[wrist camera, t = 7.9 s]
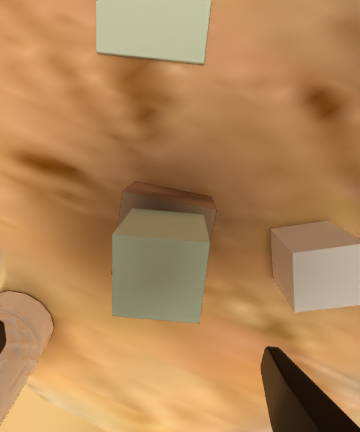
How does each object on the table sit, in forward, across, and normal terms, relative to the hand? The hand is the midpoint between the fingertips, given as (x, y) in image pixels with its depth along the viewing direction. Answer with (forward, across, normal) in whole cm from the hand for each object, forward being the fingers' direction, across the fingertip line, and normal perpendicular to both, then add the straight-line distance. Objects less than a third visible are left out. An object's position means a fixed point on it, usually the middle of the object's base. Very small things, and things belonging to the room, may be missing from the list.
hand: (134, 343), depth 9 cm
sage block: (+8, 0, 0) cm, 8 cm away
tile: (+12, +2, -15) cm, 19 cm away
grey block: (+12, -11, +1) cm, 17 cm away
